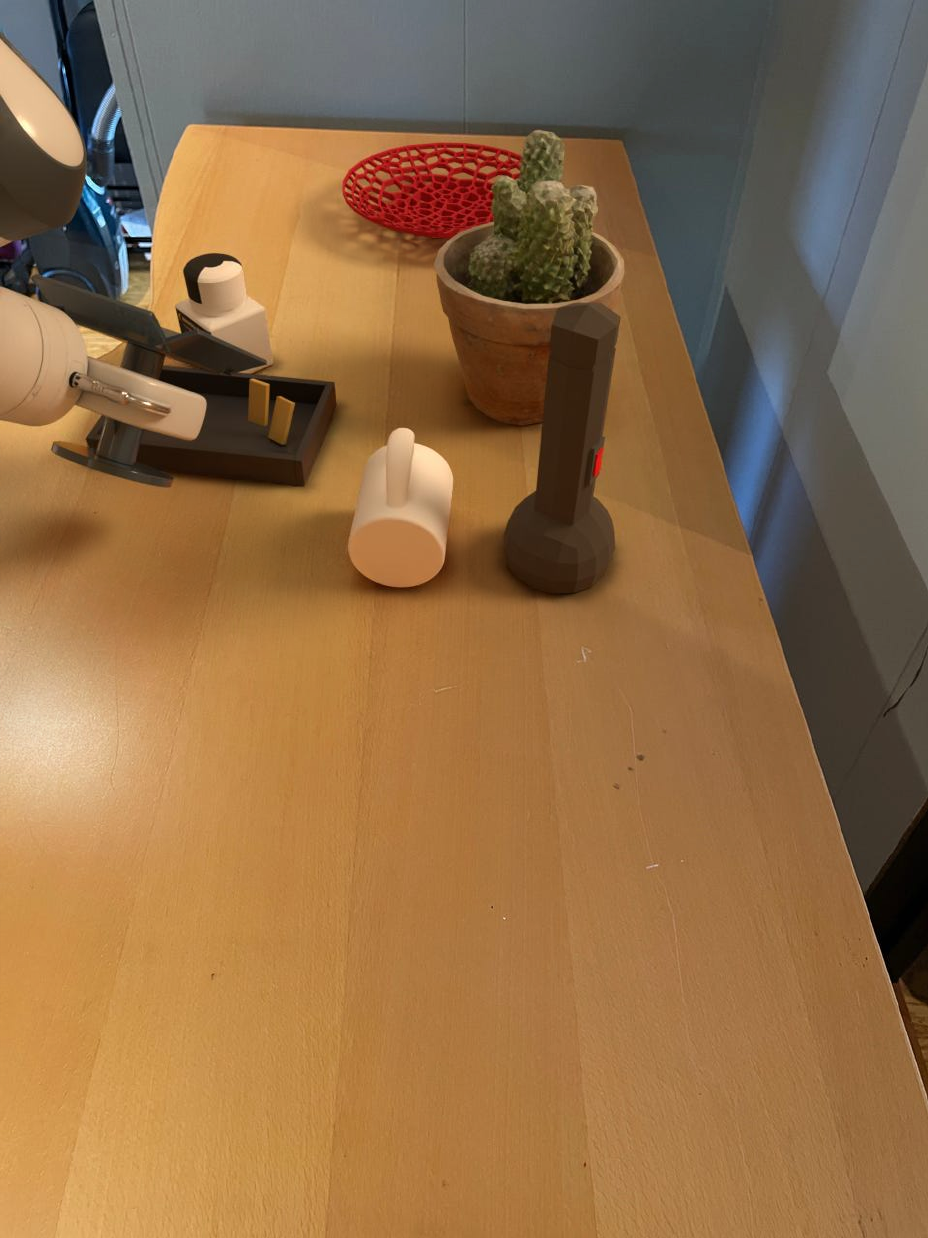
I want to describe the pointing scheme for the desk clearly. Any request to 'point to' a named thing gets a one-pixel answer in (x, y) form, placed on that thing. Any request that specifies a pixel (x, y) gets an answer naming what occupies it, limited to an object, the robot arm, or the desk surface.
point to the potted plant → (523, 281)
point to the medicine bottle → (224, 306)
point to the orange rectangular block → (258, 402)
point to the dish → (136, 370)
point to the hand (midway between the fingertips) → (139, 395)
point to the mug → (402, 513)
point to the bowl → (429, 189)
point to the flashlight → (569, 460)
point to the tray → (240, 429)
